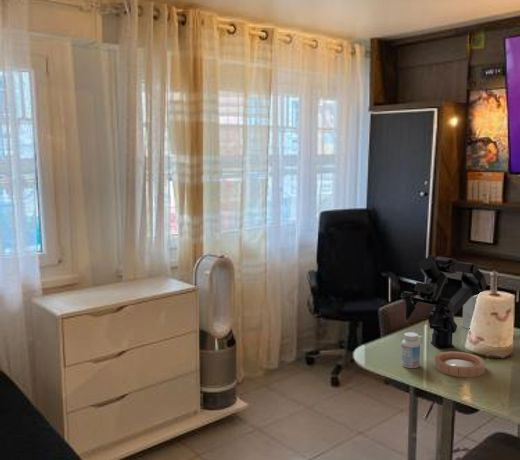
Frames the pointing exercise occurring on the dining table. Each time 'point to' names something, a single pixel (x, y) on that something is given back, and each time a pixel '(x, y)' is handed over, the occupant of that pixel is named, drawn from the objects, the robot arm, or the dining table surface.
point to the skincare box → (468, 311)
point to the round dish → (459, 364)
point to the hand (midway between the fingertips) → (418, 321)
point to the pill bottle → (410, 350)
